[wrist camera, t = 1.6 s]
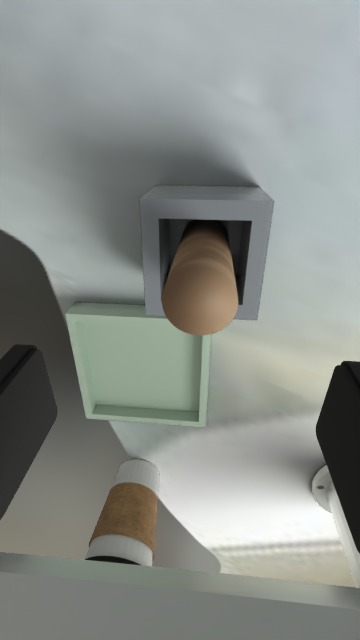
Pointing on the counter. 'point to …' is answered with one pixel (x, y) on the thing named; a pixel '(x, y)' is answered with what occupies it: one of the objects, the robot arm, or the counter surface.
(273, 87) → the counter surface
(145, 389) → the sage tray
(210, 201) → the square cup
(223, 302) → the walnut dowel
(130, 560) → the coffee cup
